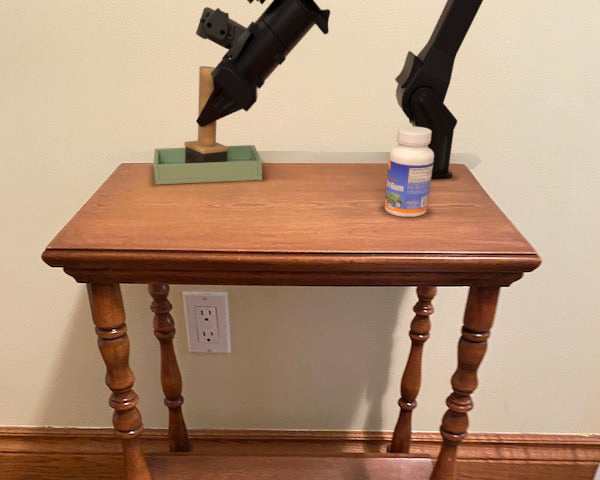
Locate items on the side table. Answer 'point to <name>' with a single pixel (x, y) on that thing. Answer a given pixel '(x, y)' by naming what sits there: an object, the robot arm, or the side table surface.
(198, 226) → the side table surface
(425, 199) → the pill bottle
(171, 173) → the tray
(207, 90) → the scrub brush
